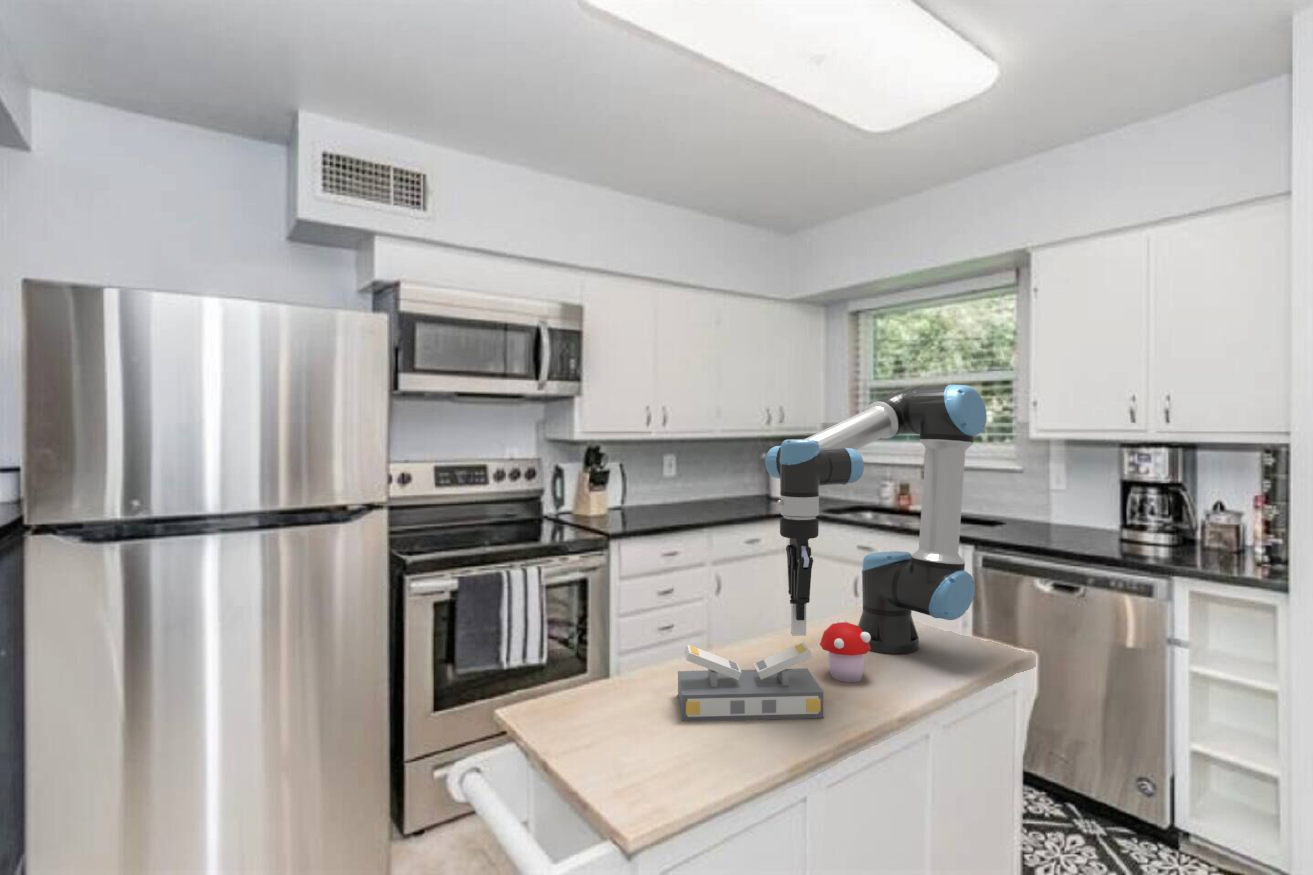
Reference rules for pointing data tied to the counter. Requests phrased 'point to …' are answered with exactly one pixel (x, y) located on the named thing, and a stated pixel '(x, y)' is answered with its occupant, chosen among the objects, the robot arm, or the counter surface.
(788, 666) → the rocker
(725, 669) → the rocker
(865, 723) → the counter surface
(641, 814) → the counter surface
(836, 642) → the mushroom
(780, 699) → the switch unit
